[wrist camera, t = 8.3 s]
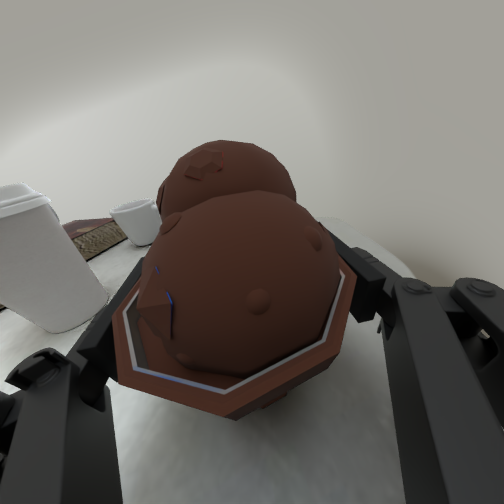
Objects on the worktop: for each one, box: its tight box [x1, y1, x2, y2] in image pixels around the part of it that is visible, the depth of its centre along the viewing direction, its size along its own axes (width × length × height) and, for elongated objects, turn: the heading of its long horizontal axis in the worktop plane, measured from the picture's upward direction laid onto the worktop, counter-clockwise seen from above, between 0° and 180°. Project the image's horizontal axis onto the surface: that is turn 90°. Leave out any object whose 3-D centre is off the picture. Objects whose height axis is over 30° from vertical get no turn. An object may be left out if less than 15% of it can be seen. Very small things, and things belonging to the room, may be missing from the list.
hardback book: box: [0, 218, 127, 309], centre depth 34 cm, size 29×19×5 cm, turn 161°
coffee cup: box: [0, 183, 108, 333], centre depth 19 cm, size 10×10×15 cm
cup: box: [109, 198, 162, 246], centre depth 37 cm, size 11×8×8 cm
